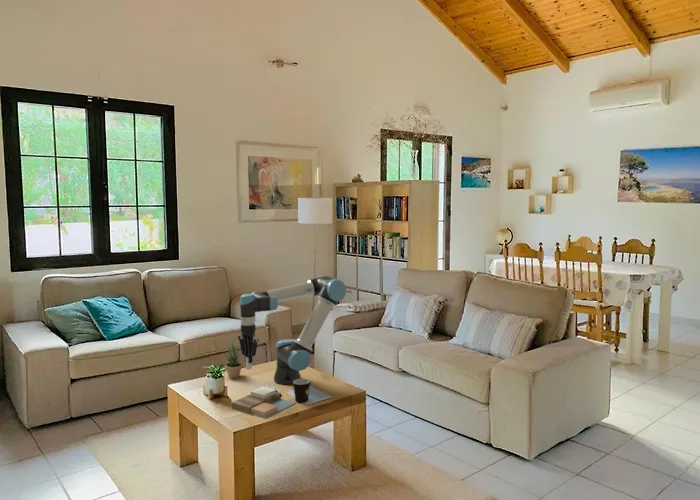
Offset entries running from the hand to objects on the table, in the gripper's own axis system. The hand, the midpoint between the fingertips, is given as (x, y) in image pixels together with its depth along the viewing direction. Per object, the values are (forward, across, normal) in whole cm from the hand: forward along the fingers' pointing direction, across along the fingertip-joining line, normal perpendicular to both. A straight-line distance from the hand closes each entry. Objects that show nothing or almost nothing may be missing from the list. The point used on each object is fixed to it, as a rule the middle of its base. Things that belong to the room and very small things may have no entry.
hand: (248, 368), depth 282 cm
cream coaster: (+12, +10, 0) cm, 15 cm away
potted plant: (+15, -30, +18) cm, 38 cm away
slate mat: (+15, +22, -5) cm, 27 cm away
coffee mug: (+15, +27, +12) cm, 33 cm away
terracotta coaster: (+14, +21, -11) cm, 28 cm away
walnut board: (+15, +10, -5) cm, 19 cm away
